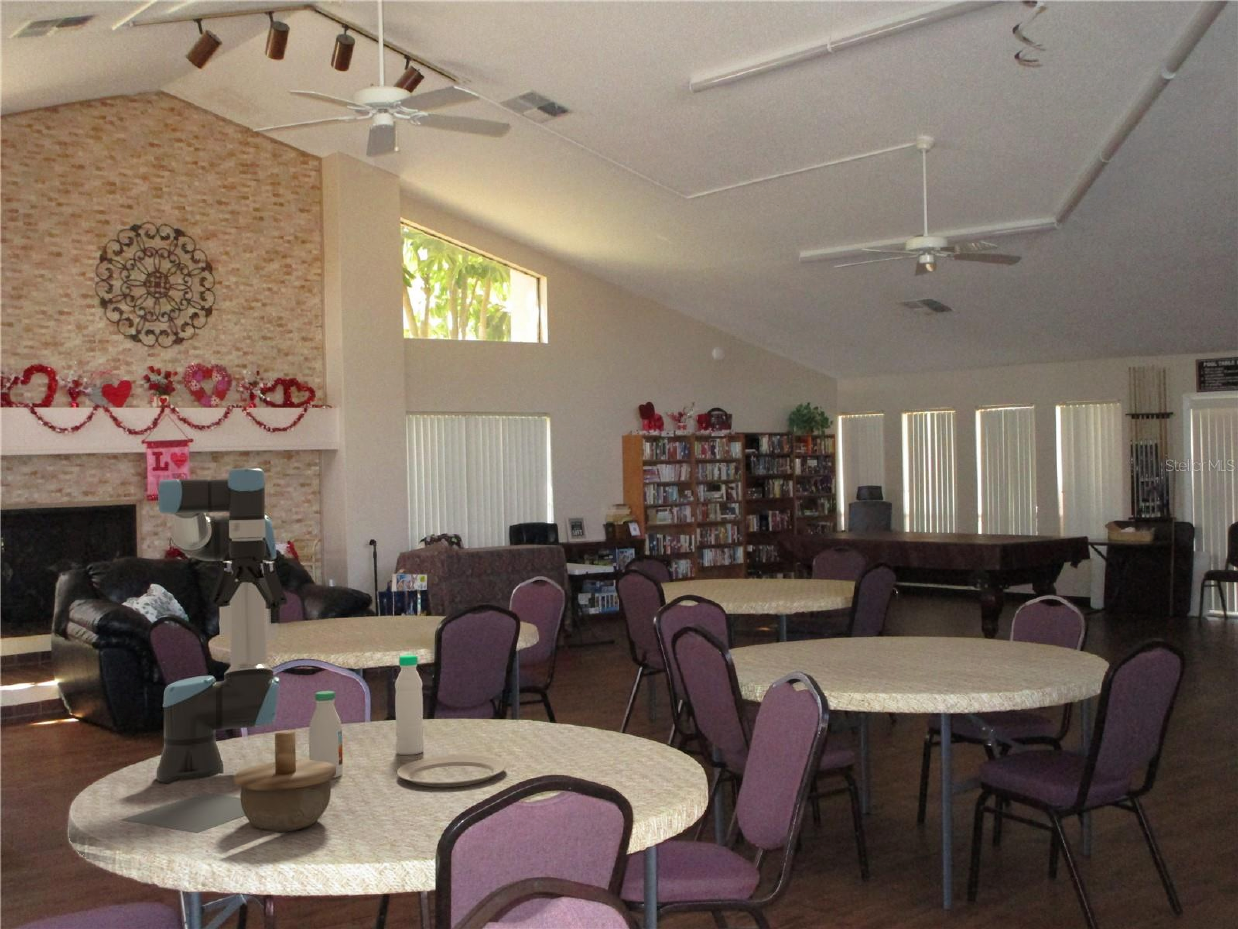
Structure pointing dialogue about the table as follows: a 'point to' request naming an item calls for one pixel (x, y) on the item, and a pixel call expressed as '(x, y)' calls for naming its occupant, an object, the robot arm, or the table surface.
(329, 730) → the milk bottle
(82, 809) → the table surface
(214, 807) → the mat
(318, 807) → the bowl
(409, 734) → the white plastic bottle
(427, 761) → the plate
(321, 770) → the lid
